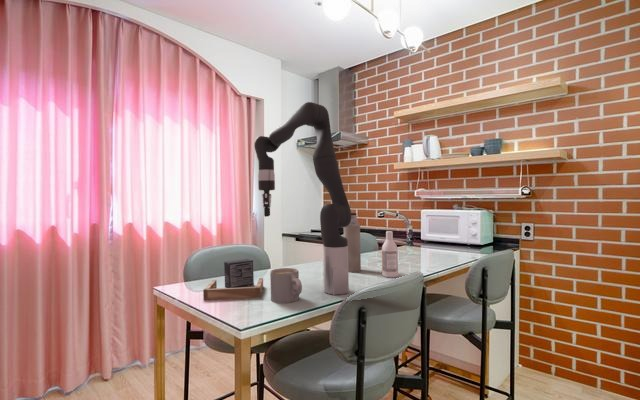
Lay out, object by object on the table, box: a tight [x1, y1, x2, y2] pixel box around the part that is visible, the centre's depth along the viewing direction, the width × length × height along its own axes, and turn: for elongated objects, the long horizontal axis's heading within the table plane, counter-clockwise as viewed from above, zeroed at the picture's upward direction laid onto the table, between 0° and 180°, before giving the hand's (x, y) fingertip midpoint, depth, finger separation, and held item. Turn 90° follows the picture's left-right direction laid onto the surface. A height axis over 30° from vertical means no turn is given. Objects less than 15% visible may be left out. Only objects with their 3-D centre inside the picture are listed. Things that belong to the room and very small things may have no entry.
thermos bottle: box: [343, 212, 362, 273], centre depth 170 cm, size 8×8×28 cm
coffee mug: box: [269, 267, 303, 304], centre depth 123 cm, size 13×10×10 cm
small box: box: [223, 258, 255, 288], centre depth 145 cm, size 11×6×10 cm, turn 124°
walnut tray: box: [202, 277, 264, 301], centre depth 134 cm, size 16×20×4 cm
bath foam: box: [381, 230, 399, 278], centre depth 157 cm, size 7×7×20 cm
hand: (267, 215), depth 162 cm, fingers open, 6 cm apart
